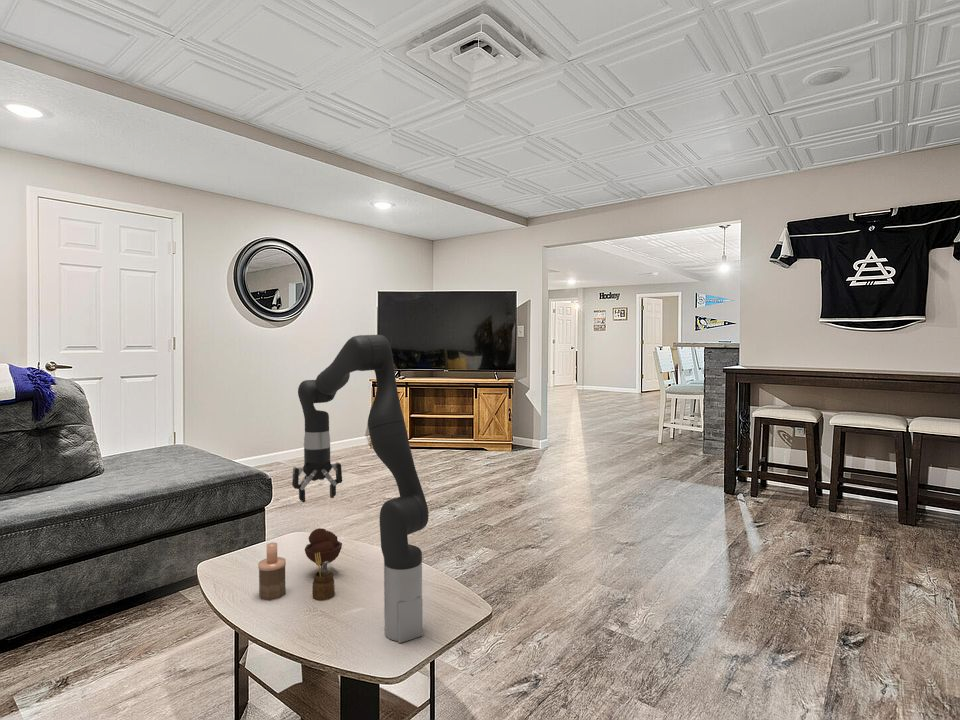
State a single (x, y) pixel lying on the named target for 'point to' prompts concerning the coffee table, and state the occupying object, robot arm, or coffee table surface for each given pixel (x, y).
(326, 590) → the utensil holder
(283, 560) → the lid
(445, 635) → the coffee table surface
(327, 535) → the ice cream bowl
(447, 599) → the coffee table surface
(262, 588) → the canister
